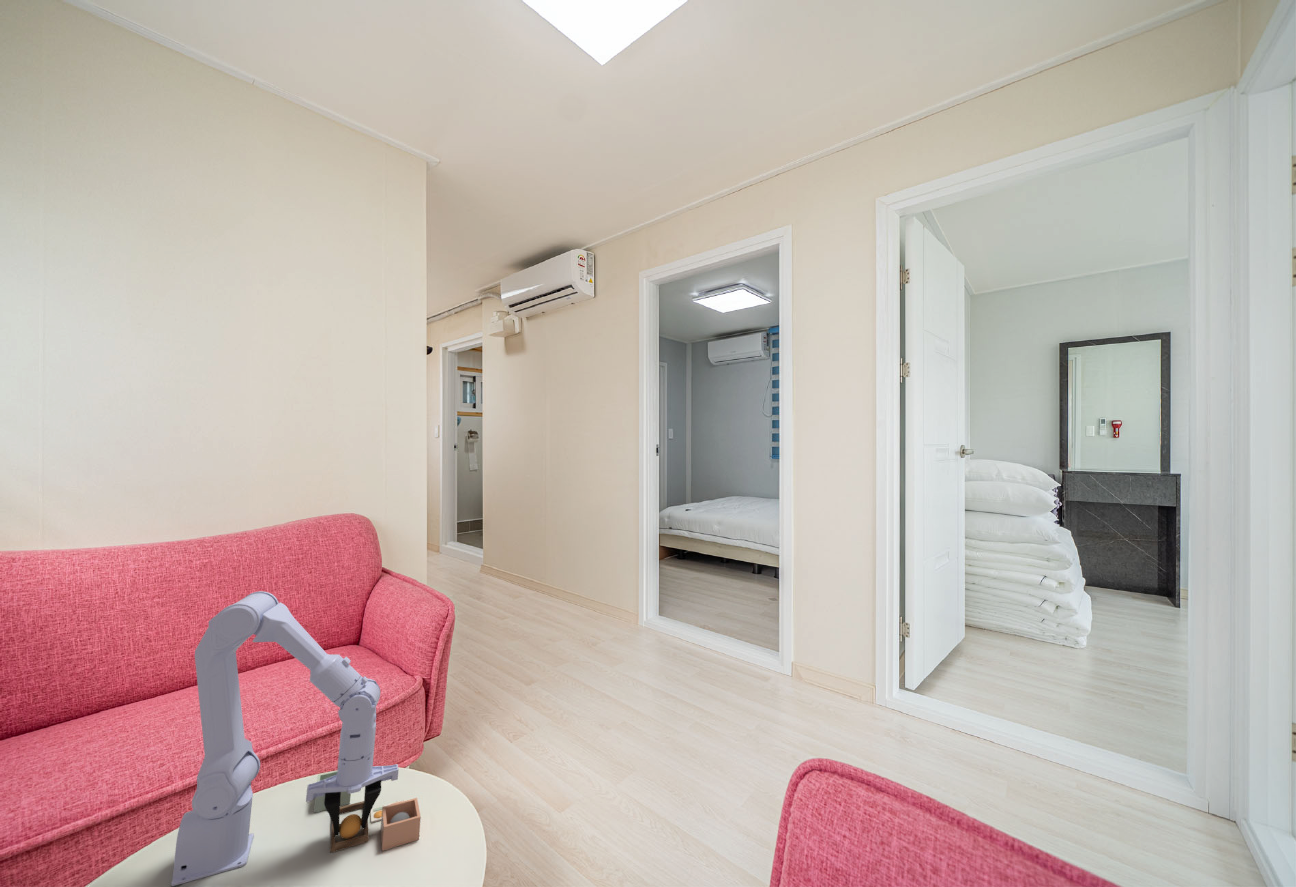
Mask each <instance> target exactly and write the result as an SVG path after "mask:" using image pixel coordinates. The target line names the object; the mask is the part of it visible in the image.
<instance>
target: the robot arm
mask: <svg viewBox="0 0 1296 887" xmlns="http://www.w3.org/2000/svg"><path fill="white" fill-rule="evenodd" d="M252 636H255V637H254V638H253V639H252V643H273V642H274V643H277V645H279V646H281V648H283V649H284V651H286V652H288V653H289V654H290V655H291V656H292V657H294V658H295V659H296V660H297V661H299V662H300V663H301V664H302V665H304V666H305V667H306V668H307V669H308V670H309V671H310V674H309V682H310V683H312V684H313V685H314V686H315V687H316V688H317V689H318V690H319V691H320V692H321V693H322V694H323V695H324V696H325V697H326V698H327V699H329V701H331V702H332V703H333V705H335V706H336V707H339V709H338V711H337V714H338V717H339V720H340V721H341V723H342V724H341V729H340V735H339V736H340V737H339V748H338V758H337V759H338V760H337V769H336V771H337V775H334V776H332V777H329V778H327V779H324V780H321V781H319V782H317V781H315V782H312V783H309V784H307V785H306V786H307V787H306V788H307V789H306V795H305V796H306V797H305V802H306V803H308V802H312V801H313V800H315V798H316V797H320V796H324V795H325V801H324V805H325V808H326V810H325V811H326V812H327V813H328V815H329V817H330V820H331V824H332V823H333V828H334V836H335V837H339V836H340V834H339V824H340V814H339V812H340V807H341V806H340V799H341V792H345V791H348V794H354V793H359V792H361V790H362V789H363V788H364V798H363V799H364V800H363V801H364V806H363V808H362V813H361V818H362V825H361V829H363V830H364V828H366V824H367V820H368V821H369V816H370V815H371V814H370V812H371V809H372V808H374V805H375V803H376V802H377V799H378V798H379V796H380V794H381V791H382V782H386V781H389V780H390V781H392V782H393V781H398V779H399V778H398V777H399V764H398V763H396V764H392V765H375V766H373V765H374V756H375V754H374V752H375V744H376V743H375V742H376V730H377V721H376V720H377V705H378V703H379V700H380V698H381V689H380V688H381V687H380V686H379V684H378V683H377V681H376V680H375V679H371V678H368V677H366V676H365V675H364V676H362V675H361V674H360V673H359V672H358V671H357V670H356V669H355V668H354V667H353V666H352V665H351V662H352V661H351V659H350V658H348V656H345V657H344V658H343V657H342V656H341V654H329V653H327V652H326V651H325V650H324V649H323V647H321V646H320V644H319V643H318V642H317V641H316V640H315V639H314V637H312V636H311V635H310V633H309V632H307V630H306V628H304V627H303V626H302V624H300V622H299V621H298V620H297V619H296V618H295V617H294V615H293V614H292V613H291V611H290V609H289V607H287V605H285V604H284V603H282V602H281V601H280V602H279V599H277V597H276V596H275V595H274V594H272V593H270V592H268V591H263V590H262V591H261V590H260V591H254V592H251V593H250V594H247V595H246V596H245V597H243V598H242V599H239V601H237V602H235V603H232V604H230V605H228V606H226V607H225V608H223V609H222V610H220V612H218V613H217V614H216V615H215V616H213V617H212V618H211V619H210V620H209V621H208V626H207V628H206V630H205V632H204V634H203V636H202V638H201V639H200V641H199V643H198V645H197V646H196V648H195V650H194V662H195V664H194V665H195V672H196V674H195V675H196V683H197V691H198V702H199V711H200V713H199V714H200V723H201V731H202V741H203V753H204V757H203V760H202V763H201V766H200V768H199V771H198V773H197V777H196V790H195V792H194V794H193V797H192V799H191V808H192V810H190V811H186V812H185V813H184V814H183V815H182V818H181V819H180V820H181V821H180V824H179V828H178V831H177V836H176V843H175V853H174V861H173V862H174V863H173V871H172V880H171V882H170V885H171V886H172V887H174V886H178V885H182V884H185V883H188V882H192V881H196V880H200V879H203V878H206V877H210V876H215V875H218V874H221V873H224V872H228V871H231V870H234V869H235V870H236V869H239V868H241V867H242V868H243V867H245V866H246V865H247V863H248V859H249V855H250V852H251V848H252V844H253V840H254V835H255V834H254V833H253V832H252V833H250V827H251V817H252V816H251V815H252V807H253V806H252V805H253V795H254V794H253V789H252V781H254V780H255V778H257V776H258V774H259V773H260V769H261V760H260V759H259V756H258V755H257V754H256V753H255V751H254V748H253V743H252V741H251V740H248V739H247V738H245V737H246V736H245V730H244V729H245V728H244V720H243V719H244V718H243V710H242V699H241V690H240V689H241V688H240V679H239V671H238V670H239V669H238V661H237V650H238V649H239V648H240V647H241V646H242V645H243V644H244V643H245V642H246V641H247V640H248V639H249V638H250V637H252Z"/></svg>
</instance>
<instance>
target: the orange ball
mask: <svg viewBox="0 0 1296 887" xmlns="http://www.w3.org/2000/svg"><path fill="white" fill-rule="evenodd" d="M361 818H362V817H360V815H358V814H355V813H352V814H349V815H347V816H345V818H343V820H342V821H341V822H340V823H339V824H340V827H339V836H340V837H341V838H342V839H344V840H349V839H352V838H355V836H357V834H358V833H359V832H360V830H361V829H362V820H361Z"/></svg>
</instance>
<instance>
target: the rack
mask: <svg viewBox="0 0 1296 887" xmlns="http://www.w3.org/2000/svg"><path fill="white" fill-rule="evenodd" d="M363 806H364V800H362V801H359V802H355V803H350V804H347V805H343V806H340V812H339V815H342V814H345V813H349V812H355V811H357V810H361V809H362V810H363ZM360 818H361V820H362V817H360ZM340 824H341V823H339V827H340ZM330 835H331V837H330V851H329V852H330V854H331V853H334V852H338V851H340V850H344V849H347V848H351V847H355V846H358V845H362V844H364V843H368V842H369V836H370V835H369V819H368V820H367V824H366V828H363V835H360V836H356V837H352V838H349V839H344V840H341V841H339V842H336V836H334V828H333V823H332V822H331V834H330Z"/></svg>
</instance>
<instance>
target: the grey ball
mask: <svg viewBox="0 0 1296 887" xmlns="http://www.w3.org/2000/svg"><path fill="white" fill-rule="evenodd" d="M409 818H410V816H409V815H408V814H407V813H405V812H400V813H398V814H396V815H395V816H394V817H393V818H392V819H391V821H390V824H391V823H394V822H398V821H402V820H405V819H409Z"/></svg>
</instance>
